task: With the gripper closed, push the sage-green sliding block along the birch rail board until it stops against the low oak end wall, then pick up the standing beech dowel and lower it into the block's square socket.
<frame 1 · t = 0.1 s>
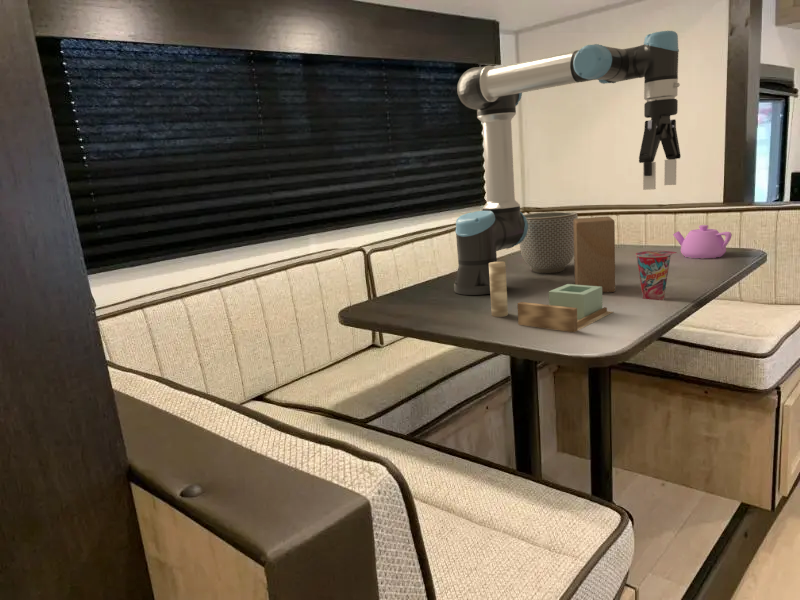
hand: (660, 187, 151), 28 cm above the table, fingers open, 13 cm apart
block: (575, 301, 141), point 4 cm above the table, slide at 0.0 cm
wooden block: (594, 290, 169), on the table
teapot: (700, 256, 204), on the table
planter: (548, 271, 203), on the table
cup: (654, 299, 153), on the table
dowel: (499, 318, 147), on the table
rail board: (566, 322, 139), on the table
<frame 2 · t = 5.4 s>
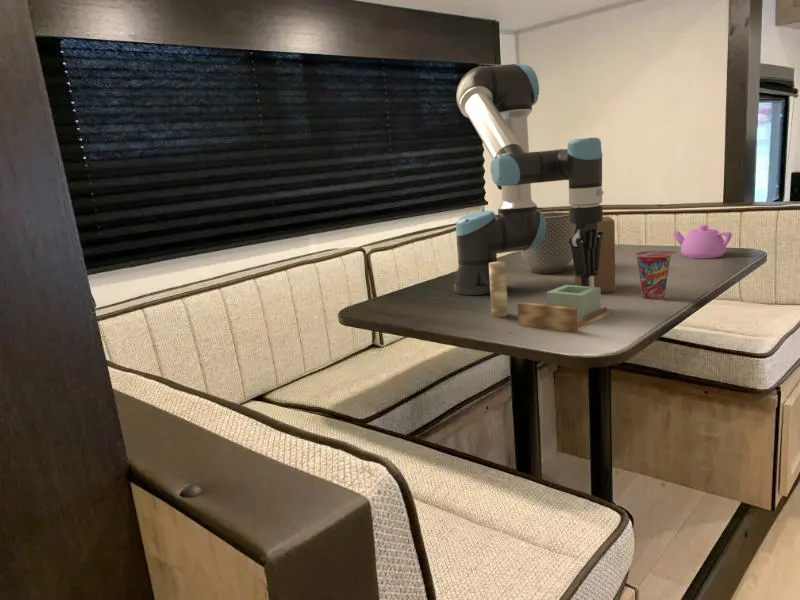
hand: (587, 302, 146), 2 cm above the table, fingers closed
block: (573, 302, 141), point 4 cm above the table, slide at 0.9 cm, touching gripper
everything else where it was.
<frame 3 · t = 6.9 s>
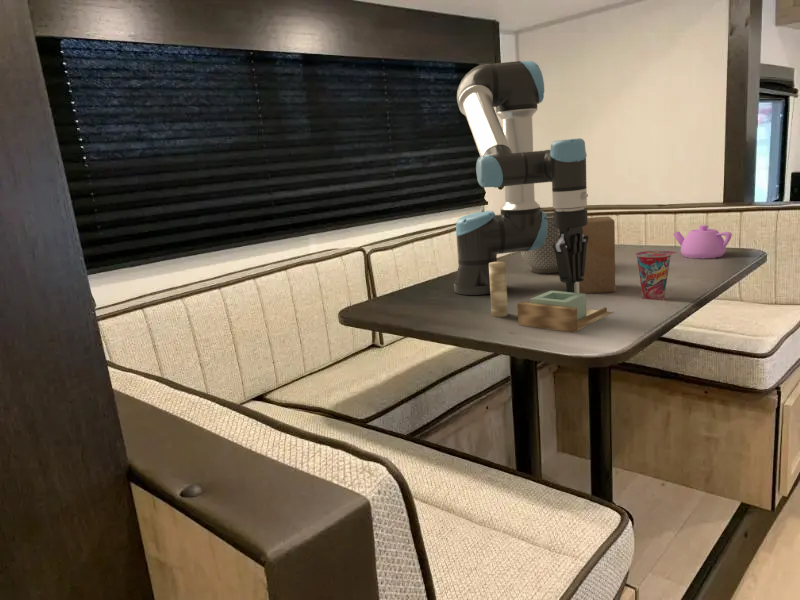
hand: (573, 308, 141), 2 cm above the table, fingers closed
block: (558, 308, 136), point 4 cm above the table, slide at 8.0 cm, touching gripper
everything else where it was.
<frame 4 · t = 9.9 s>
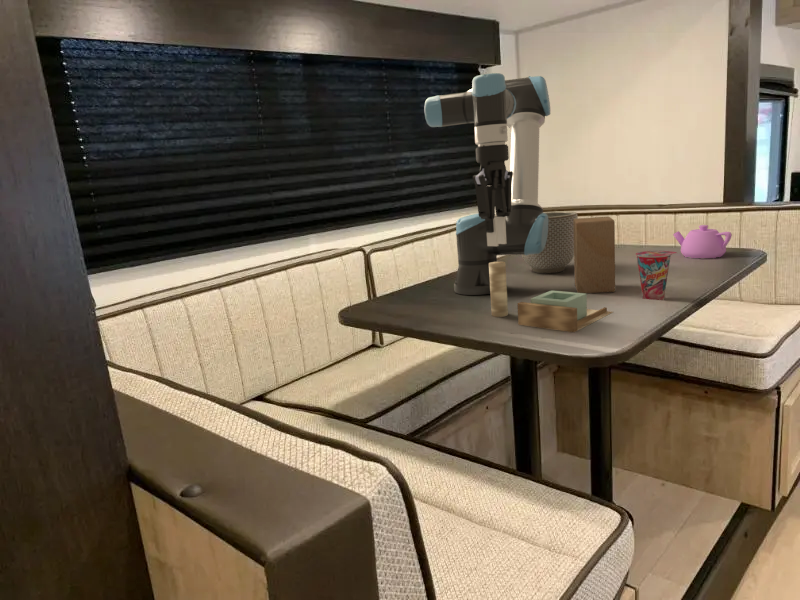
hand: (496, 244, 143), 18 cm above the table, fingers open, 3 cm apart
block: (558, 308, 136), point 4 cm above the table, slide at 7.8 cm
everything else where it was.
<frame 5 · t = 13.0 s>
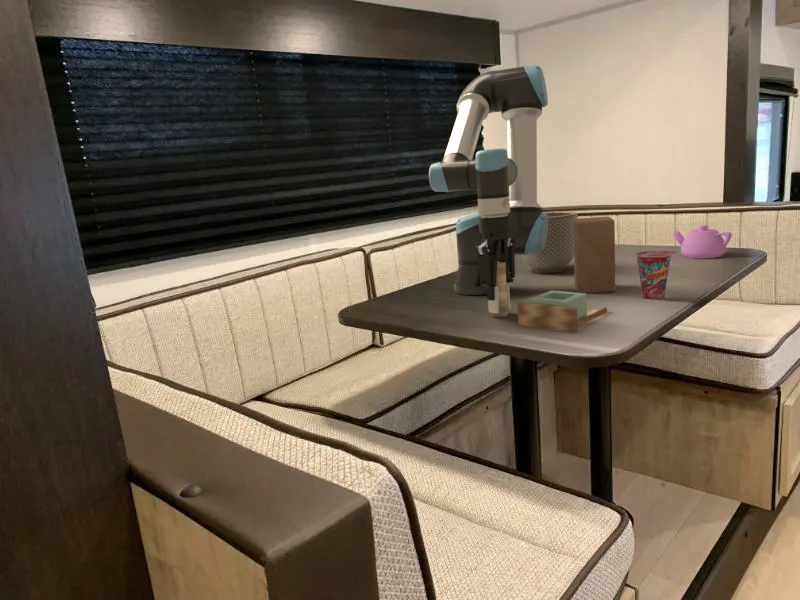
hand: (499, 310, 147), 2 cm above the table, fingers closed on dowel, 4 cm apart
dowel: (500, 318, 147), on the table, touching gripper
everything else where it was.
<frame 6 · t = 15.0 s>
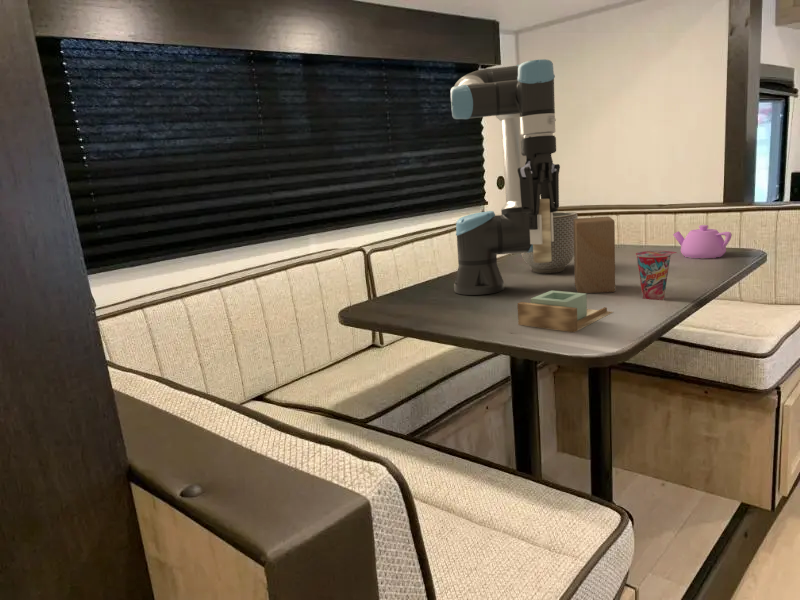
hand: (542, 242, 134), 19 cm above the table, fingers closed on dowel, 4 cm apart
dowel: (542, 261, 135), point 15 cm above the table, touching gripper
everything else where it was.
when the fingers open (8 cm above the table, at t = 17.0 s): dowel stays where it is, resting on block.
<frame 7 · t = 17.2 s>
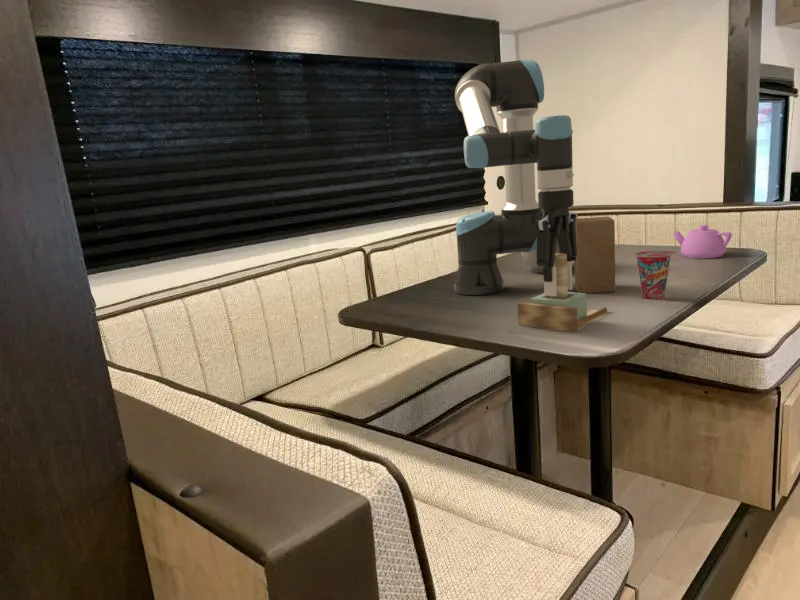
hand: (558, 292, 135), 8 cm above the table, fingers open, 6 cm apart
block: (558, 308, 136), point 4 cm above the table, slide at 7.8 cm, touching dowel
dowel: (559, 314, 136), point 3 cm above the table, touching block
everything else where it was.
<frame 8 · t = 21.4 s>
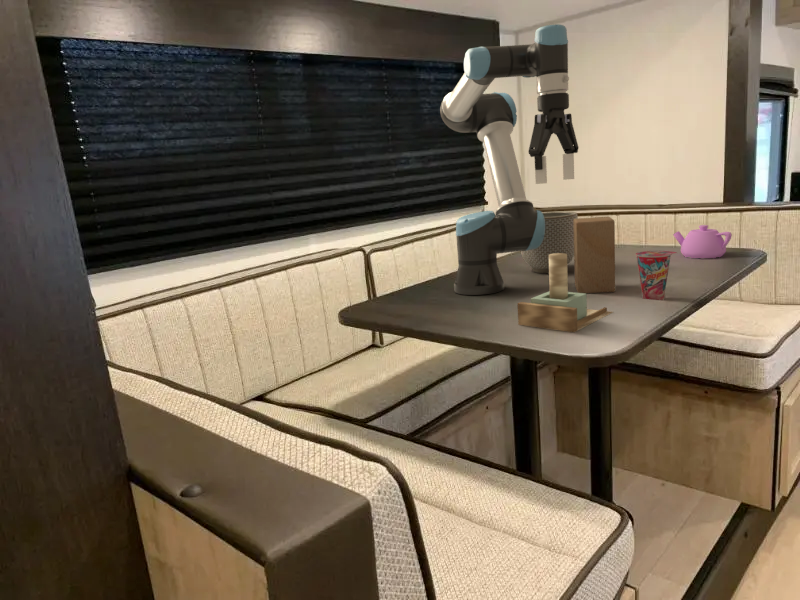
hand: (555, 181, 151), 32 cm above the table, fingers open, 13 cm apart
nothing on the table moved.
at the end: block slide at 7.8 cm; dowel 0.0 cm off-centre on the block, point 1.5 cm above the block's base; dowel tilted 1° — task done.
